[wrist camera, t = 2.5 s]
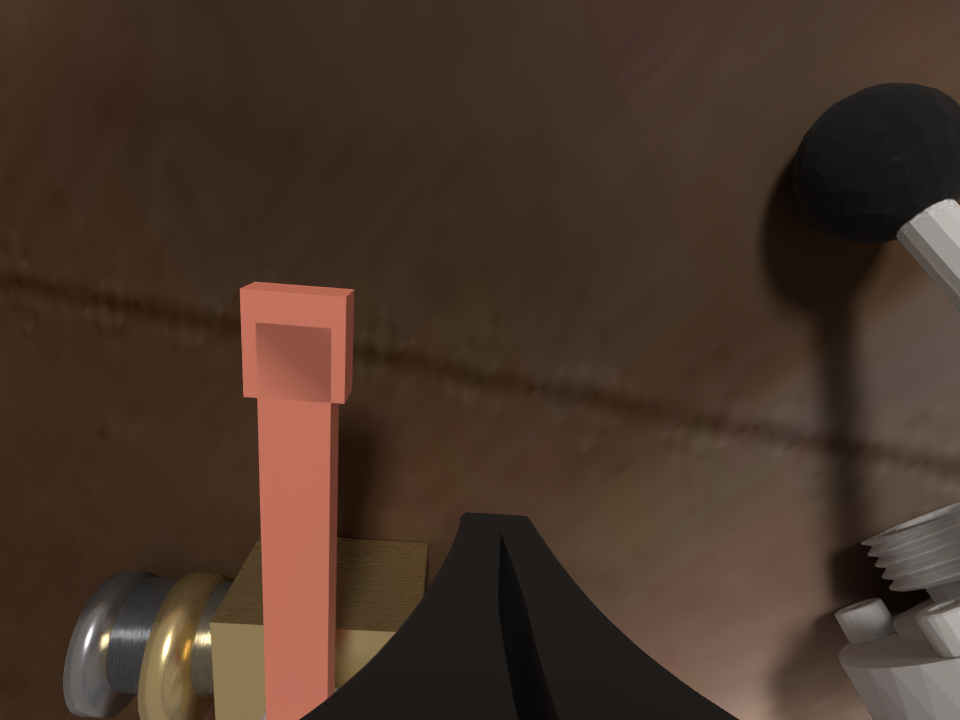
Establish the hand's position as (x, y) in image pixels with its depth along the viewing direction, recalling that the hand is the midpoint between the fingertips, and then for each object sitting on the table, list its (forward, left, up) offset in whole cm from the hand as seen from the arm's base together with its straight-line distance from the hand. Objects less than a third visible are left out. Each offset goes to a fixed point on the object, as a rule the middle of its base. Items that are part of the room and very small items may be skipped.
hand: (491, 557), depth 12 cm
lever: (-3, +5, -4) cm, 6 cm away
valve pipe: (-9, +4, -9) cm, 13 cm away
